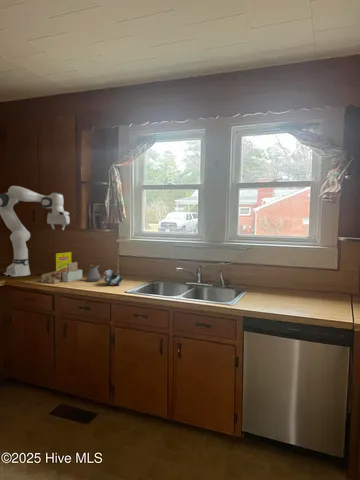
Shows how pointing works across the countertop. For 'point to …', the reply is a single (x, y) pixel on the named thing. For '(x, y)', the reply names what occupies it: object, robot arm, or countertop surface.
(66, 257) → the food package
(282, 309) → the countertop surface
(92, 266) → the coffee pot
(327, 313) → the countertop surface
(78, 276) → the slot stand
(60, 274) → the offcut top
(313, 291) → the countertop surface
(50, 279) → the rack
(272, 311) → the countertop surface
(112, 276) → the blue-grey irregular lump
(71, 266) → the birch sheet
